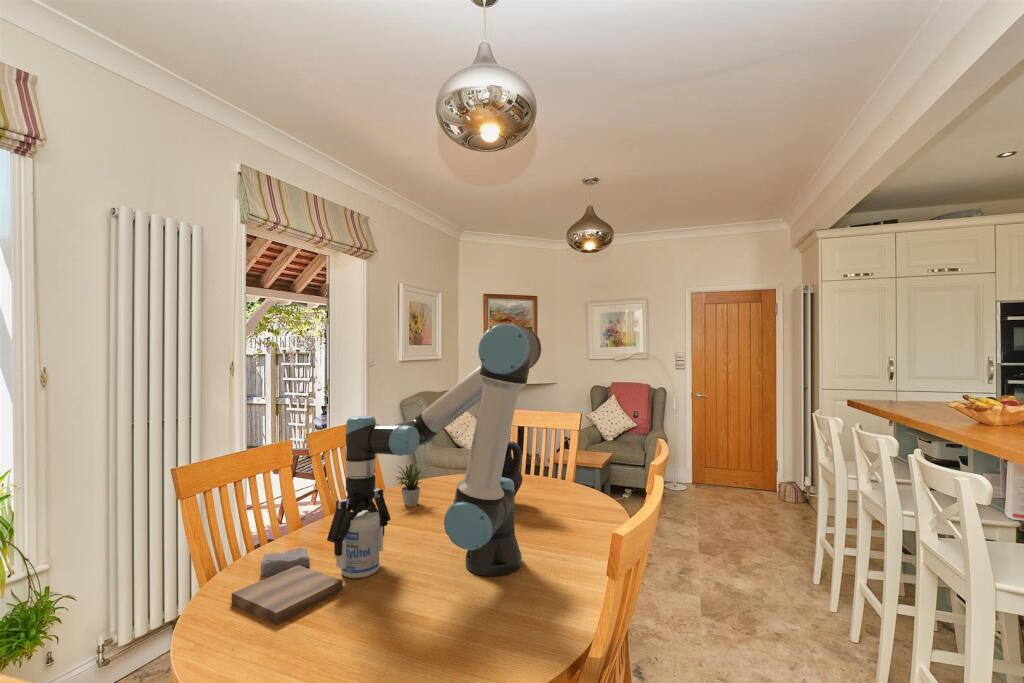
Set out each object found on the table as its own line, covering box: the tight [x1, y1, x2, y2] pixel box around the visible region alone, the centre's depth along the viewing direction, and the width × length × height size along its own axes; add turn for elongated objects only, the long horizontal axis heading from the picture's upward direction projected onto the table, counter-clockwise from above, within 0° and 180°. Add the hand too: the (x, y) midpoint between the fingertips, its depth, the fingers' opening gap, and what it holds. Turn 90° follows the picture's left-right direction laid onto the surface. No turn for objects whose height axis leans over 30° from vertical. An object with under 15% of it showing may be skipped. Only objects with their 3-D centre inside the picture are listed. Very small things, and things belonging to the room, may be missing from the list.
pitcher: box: [501, 441, 523, 497], centre depth 179 cm, size 21×22×25 cm
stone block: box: [260, 547, 311, 577], centre depth 129 cm, size 12×5×10 cm
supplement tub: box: [340, 510, 380, 579], centre depth 126 cm, size 10×10×15 cm
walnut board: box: [231, 565, 343, 626], centre depth 112 cm, size 17×17×2 cm
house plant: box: [395, 461, 427, 507], centre depth 184 cm, size 14×14×16 cm
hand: (360, 558), depth 126 cm, fingers open, 12 cm apart
